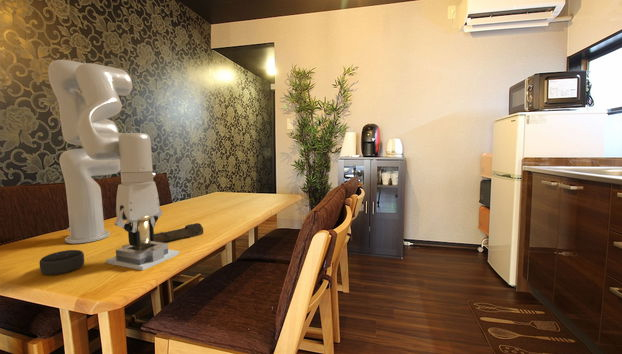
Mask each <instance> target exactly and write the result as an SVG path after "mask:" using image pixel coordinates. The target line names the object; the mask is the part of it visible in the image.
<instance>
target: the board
mask: <svg viewBox="0 0 622 354" xmlns="http://www.w3.org/2000/svg"><path fill="white" fill-rule="evenodd" d="M178 254H179V255H180V250H174V249H169V248H168V254H166V255H164V258H162V259H159V260H157V261H155V262H150V261H149V262H147V263H144V264H142V265H136V264H131V263H126V262H121V261H117V260H116V255H115V256H112V257H110V258H107V259H106V260H105V263H106V264H108V265H114V266H119V267H124V268H129V269H135V270H139V271H145V270H146V269H149V268H152V267H154V266H156V265H158V264H161V263H163V262H165V261H168V260H170V259H172V258H174V257H176V255H177V256H178Z"/></svg>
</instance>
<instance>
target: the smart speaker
mask: <svg viewBox="0 0 622 354" xmlns="http://www.w3.org/2000/svg"><path fill="white" fill-rule="evenodd" d="M38 263H39V271H40V273H41V274H42V275H45V276H55V275H62V274H66V273H70V272H73V271H75V270H78V269H79V268H81V267H83V265H84V264H85V253H84V252H83V251H82V250H79V249H68V250H59V251H57V252H53V253H49V254H47V255H45V256H43V257H41V259H39V262H38Z"/></svg>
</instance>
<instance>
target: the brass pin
mask: <svg viewBox="0 0 622 354" xmlns="http://www.w3.org/2000/svg"><path fill="white" fill-rule="evenodd" d="M149 219H150V215H148V216H144V217H141V219H140V220H137V232H139V240H140V245H139V246H134V250H138V251H142V250H145V249H147V248H150V247H151V243H150V228H149Z"/></svg>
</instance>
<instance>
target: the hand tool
mask: <svg viewBox="0 0 622 354" xmlns="http://www.w3.org/2000/svg"><path fill="white" fill-rule="evenodd" d="M203 234H204V227H203V226H202V224H201V223H200V222H199V223H198V222H197V223H191V224H187V225H186V224H185V226H184V227H182V228H178V229H173V230H168V231H163V232H162V231H161V232H156V233H154V241H155V242H161V243H167V242H170V241H174V240H178V239H182V238H187V239H191V238H194V237H197V236H200V235H203Z"/></svg>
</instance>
